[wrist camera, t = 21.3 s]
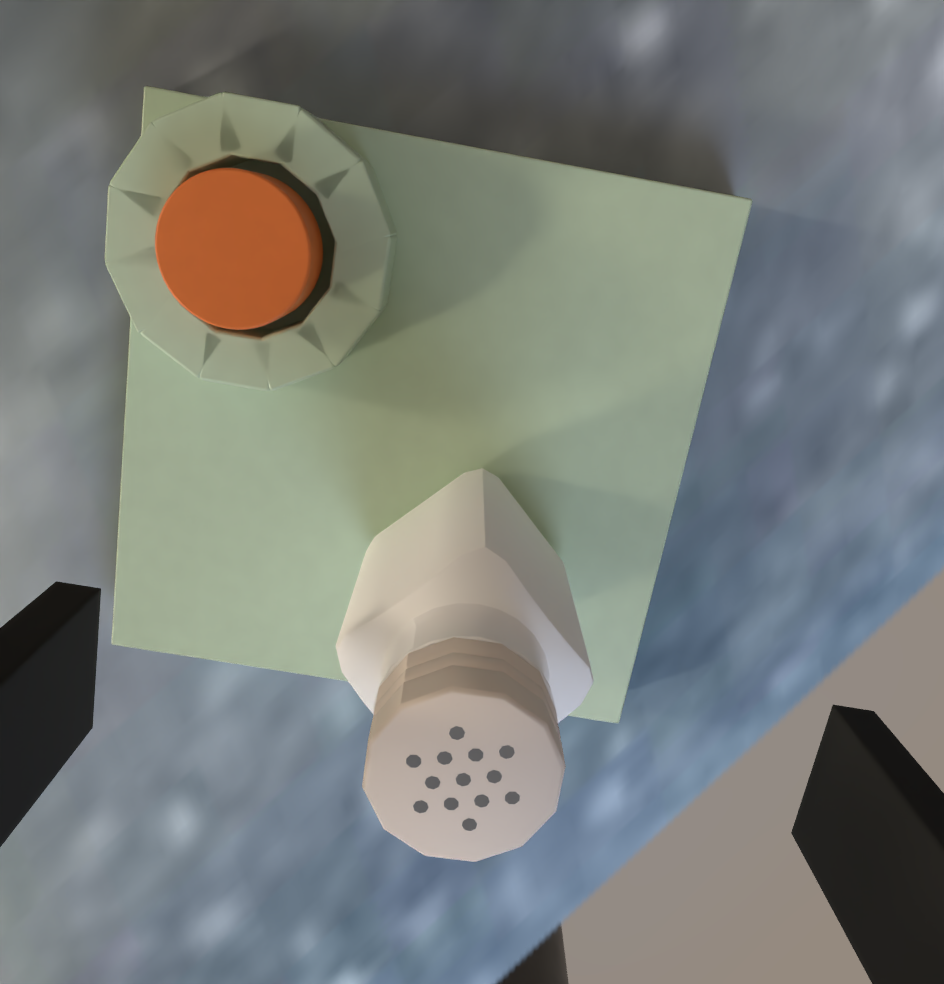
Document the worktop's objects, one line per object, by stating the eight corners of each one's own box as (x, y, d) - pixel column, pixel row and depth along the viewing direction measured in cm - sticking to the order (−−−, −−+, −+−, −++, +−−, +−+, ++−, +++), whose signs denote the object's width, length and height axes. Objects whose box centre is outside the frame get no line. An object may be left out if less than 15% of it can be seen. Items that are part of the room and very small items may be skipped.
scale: (611, 698, 26) (629, 758, 23) (128, 622, 25) (83, 674, 22) (737, 198, 22) (777, 195, 19) (162, 91, 21) (113, 70, 18)
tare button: (314, 333, 20) (301, 342, 18) (172, 308, 20) (148, 315, 18) (332, 186, 19) (319, 183, 17) (183, 158, 19) (159, 153, 17)
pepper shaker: (451, 653, 24) (438, 923, 15) (359, 541, 23) (282, 756, 14) (574, 571, 23) (640, 802, 14) (483, 452, 22) (491, 616, 13)
